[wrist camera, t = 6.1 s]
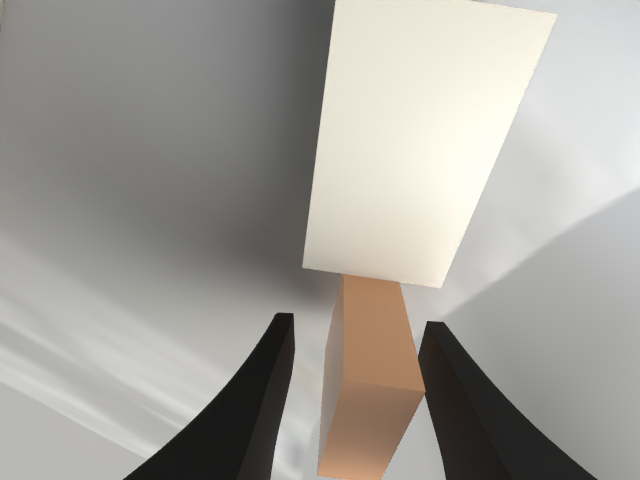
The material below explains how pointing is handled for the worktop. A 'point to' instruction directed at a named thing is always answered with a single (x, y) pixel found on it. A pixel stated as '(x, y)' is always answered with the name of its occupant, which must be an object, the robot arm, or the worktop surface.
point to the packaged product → (1, 10)
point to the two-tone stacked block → (402, 191)
